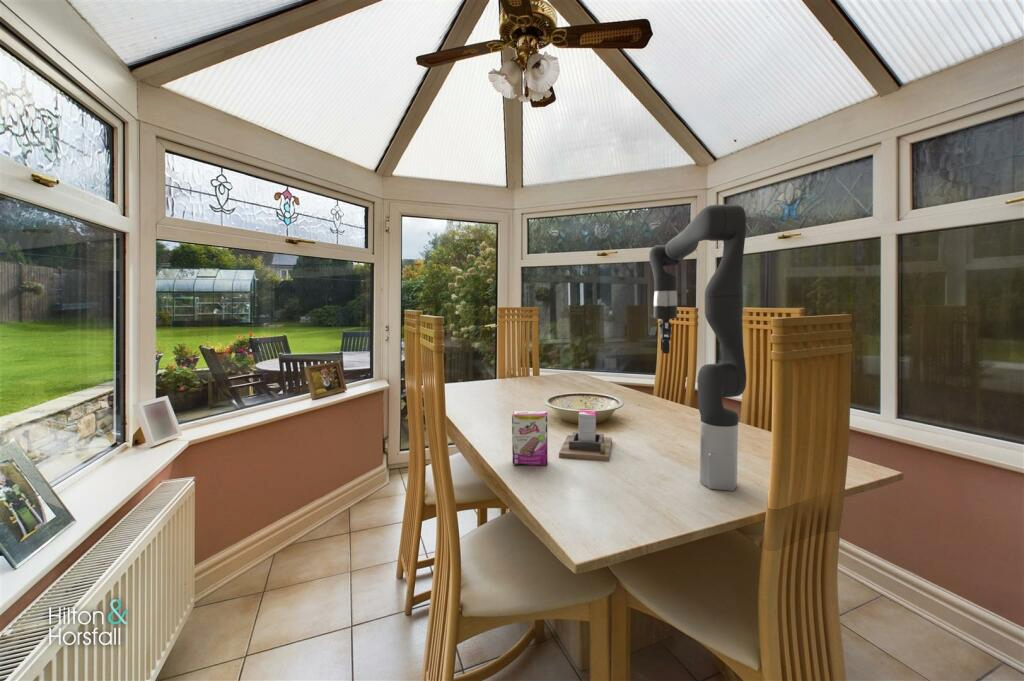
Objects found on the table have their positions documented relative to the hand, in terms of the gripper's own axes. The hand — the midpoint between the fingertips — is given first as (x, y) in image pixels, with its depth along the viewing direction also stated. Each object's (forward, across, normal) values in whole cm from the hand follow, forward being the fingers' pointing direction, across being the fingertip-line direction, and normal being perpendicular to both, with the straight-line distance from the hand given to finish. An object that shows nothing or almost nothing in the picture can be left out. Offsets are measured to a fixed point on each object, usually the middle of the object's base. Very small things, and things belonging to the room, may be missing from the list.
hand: (665, 351), depth 147 cm
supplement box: (+32, +9, -26) cm, 42 cm away
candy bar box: (+33, +26, -42) cm, 60 cm away
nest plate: (+33, +9, -26) cm, 43 cm away
